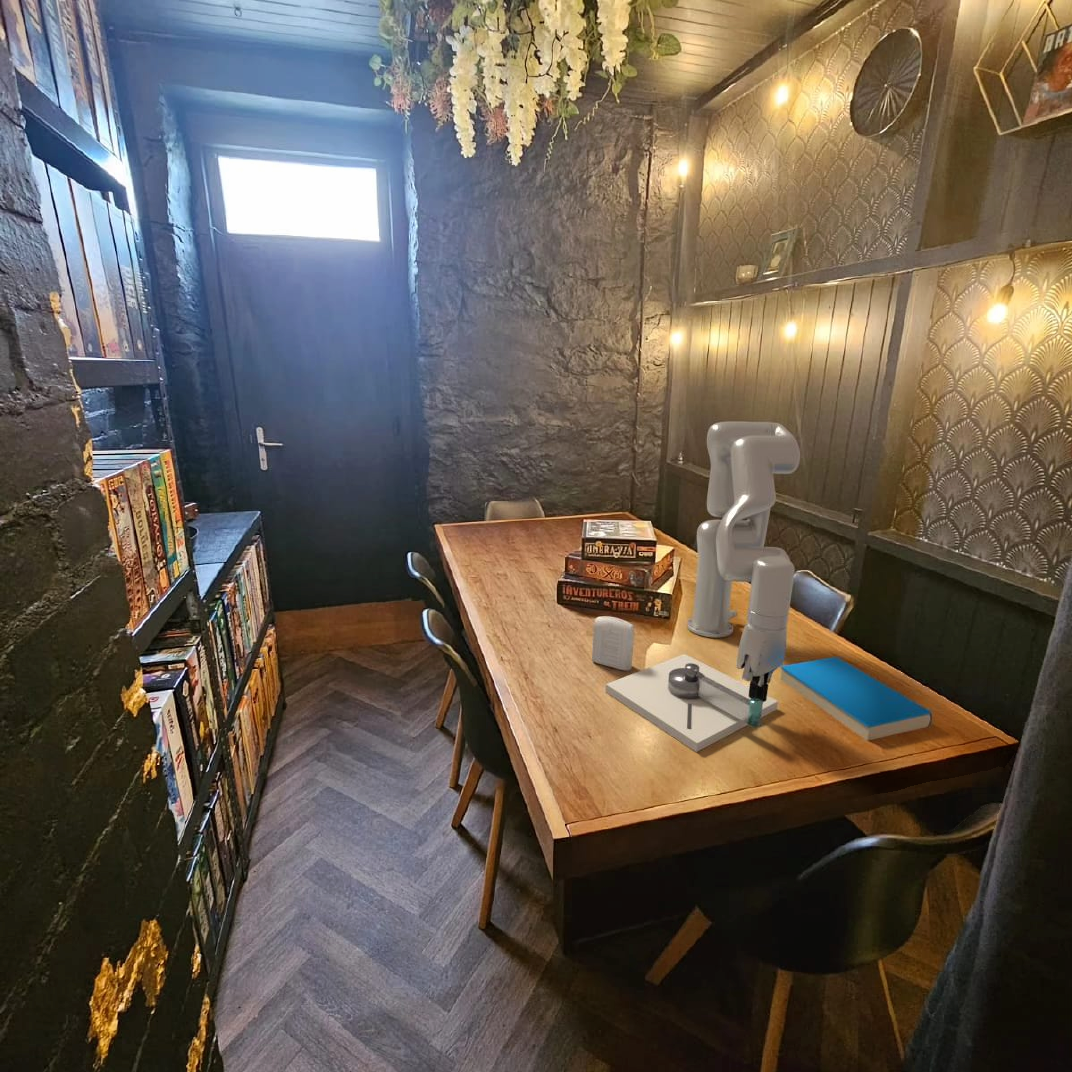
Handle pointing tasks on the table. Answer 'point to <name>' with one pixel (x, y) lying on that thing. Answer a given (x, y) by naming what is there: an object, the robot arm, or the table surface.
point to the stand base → (681, 703)
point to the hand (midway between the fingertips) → (757, 699)
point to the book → (855, 698)
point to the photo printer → (613, 642)
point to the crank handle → (714, 694)
